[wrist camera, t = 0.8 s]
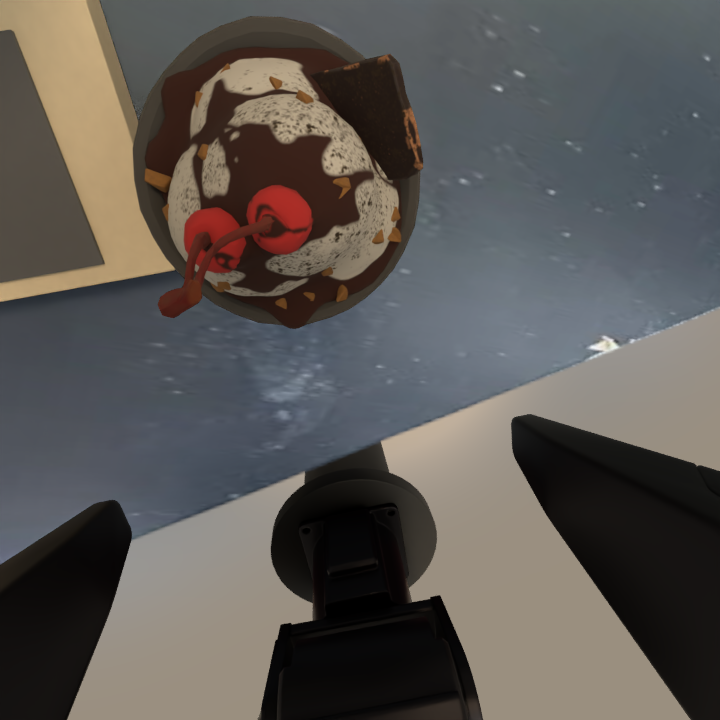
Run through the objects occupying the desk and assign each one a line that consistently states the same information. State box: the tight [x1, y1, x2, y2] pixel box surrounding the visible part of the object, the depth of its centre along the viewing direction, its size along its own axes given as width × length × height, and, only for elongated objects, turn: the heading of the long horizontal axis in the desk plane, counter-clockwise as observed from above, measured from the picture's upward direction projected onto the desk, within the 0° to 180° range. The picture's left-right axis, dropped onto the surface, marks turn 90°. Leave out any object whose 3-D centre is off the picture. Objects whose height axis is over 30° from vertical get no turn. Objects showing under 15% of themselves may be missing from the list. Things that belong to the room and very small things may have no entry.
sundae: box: [133, 16, 423, 329], centre depth 12 cm, size 7×7×15 cm
